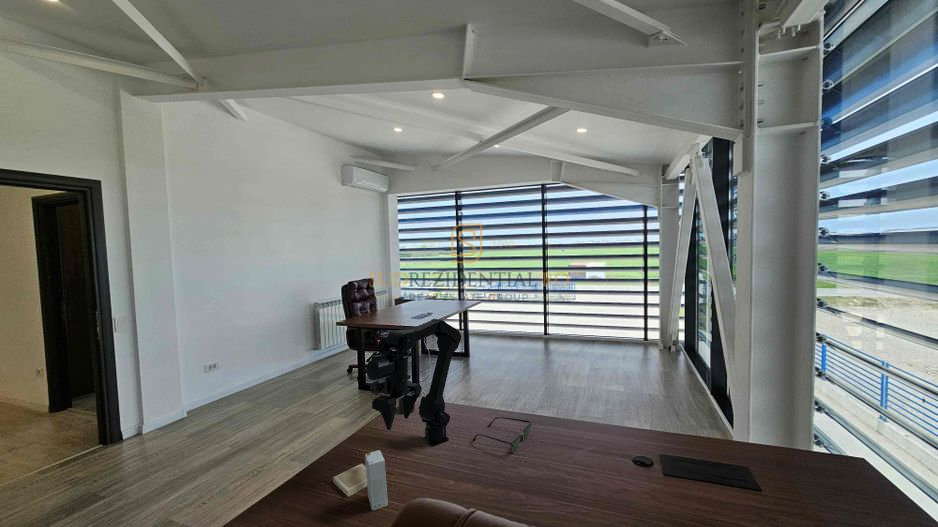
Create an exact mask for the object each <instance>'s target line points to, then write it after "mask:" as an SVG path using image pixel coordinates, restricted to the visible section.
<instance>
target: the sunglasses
mask: <svg viewBox="0 0 938 527" xmlns="http://www.w3.org/2000/svg"><path fill="white" fill-rule="evenodd" d="M497 419H505V420H511V421H517V422H523V423H528V425H527V426H525V428H524V429H523V430H522V431H521V432H522V433H520V434H519V435H518V436H517V437H516V438H515V439H514V440H512V441H511V442H510V441H506V440H503V439H499V438H495V437H492V436H489V435H485V434H480V433H478V434H476V435H475V436H474V437H473V439H474V440H473V441H475V440H476V439H477V437H478V436H481V437H484V438H488V439H491V440H493V441H498V442H500V443H503V444H507V445H510V446H511V448H512V453H513V454H515V453H516V452H517V450H518V449H519V446H520V441H521V439H523V440H522V441H525V440H527V439H528V437H529V435H530V431H531V427H532V424H533V421H532V420H526V419H520V418H514V417H513V418H512V417H505V416H502V417H501V416H498V417H495V418H494V419H493V420H491V422H490V423H489V424H487V428H491V427H492V424H493V423H494V422H495V420H497Z"/></svg>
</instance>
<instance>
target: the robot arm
mask: <svg viewBox="0 0 938 527" xmlns="http://www.w3.org/2000/svg"><path fill="white" fill-rule="evenodd" d="M432 335H434V336H435V337H436V345H437V350H438V353H437V358H436V362H435V366H434V371H433V374H432V378H431V382H430V386H429V390H428V393H427V394H426V395H425V396H421V398H420V403H419V405H418V408H417V409H418V415H419V416H420V418H421V420H422V423H425V428H424V434H425V435H424V440H425V441H426V442H428V444H429V445H431V446H432V447H435V446H438V445H440V444H442V443H445V442H448V441H449V440H450V438H449V437H448V436H447V426H448V424H450V420H451V416H450V415H449V414H448V413H447V412H446V411H445V410H446V402H445V398H444V392H445V388H446V383H447V379H448V374H449V370H450V365H451V361H452V357H453V354H454V353H455V352H456V351H457V350H458V348H459V346H460V343H461V341H462V334H461V332H460V330H459V329H456V327H454V326H452V325H450V324H449V323H447V322H446V321H445V320H444V319H440V318H432V319H430V320H429V321H427V322H424V323H422V324H419V325H417V326H414V327H411V328H409V329H398V330H393V331H390V332H388V334H387V337H386V339H385V340H384V343H383V344H382V346H381V348H380V350H379V352H378V355H377V354H375V355H371V358H370V359H371V360H369V361H368V362H367V365H366V367H365V372H366V375H367V377H368V378H369V380H371V381H373V382H370V386H369V391H370V393H371V394H374V396H377V397H375V398H374V399H373V400H372V401H371V409H372V410H375V411H377V412H379V413H380V414H381V417H382V419H383V422H384V425H385V427H386V430H387V431H391V430H392V428H393V427H392V426H393V423H394V420H395V417H396V412H397V408H398V407H397V408H396V406H397V401H398V399H400V398H402V400H403V409H404V414H403V417H404V419H406V420H407V419H409V416H410V414H411V413H410V412H411V410H412V408H413V406H414V404H416V402H417V400H418V398H419V397H420V394H421V393H422V390H423V389H422V386H421V384H420V383H416V382H412V383H410V382H408V380H410V379H411V376H412V375H411V374H409V358H411V357H412V356H414V353H412V351H411V349H412V348H413V347H415V345H416V343H417V342H419V341H421V340H424V339H425V338H428V337H430V336H432ZM384 378H385V380H381V379H384ZM379 380H381V381H379ZM382 393H383V394H384V395H379V396H378V394H382ZM388 395H389V396H388Z"/></svg>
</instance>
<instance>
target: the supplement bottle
mask: <svg viewBox="0 0 938 527" xmlns="http://www.w3.org/2000/svg"><path fill="white" fill-rule="evenodd" d="M408 382H410V383H413V382H412V381H411V380H410V379H408ZM397 404H398V405H397V408H398V413H400V414H402V415H404V409H403V400H402V398H400V399H398V400H397ZM415 404H416V403H415ZM415 404H414V406H413V408H412V410H411V412H410V414H412V413H413V412H415V409H416V408H415V407H416V405H415Z"/></svg>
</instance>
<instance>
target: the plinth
mask: <svg viewBox="0 0 938 527" xmlns="http://www.w3.org/2000/svg"><path fill="white" fill-rule="evenodd" d="M332 481H333V482H332V483H333V484H334V485H335V486H336V487H337V488H338V489H339V490H340V491H342V493H344V494H345V495H346V496H347V497H350V496H352V495H355V494H356V493H358V492H360V491H361V490H364V489H365V488H368V487H367V475H366V465H365V464H363V463H360V464H358V465H356V466H353V467H351V468H350V469H347V470H346V471H343V472H341V473H340V474H338V475H335V476H332Z"/></svg>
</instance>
